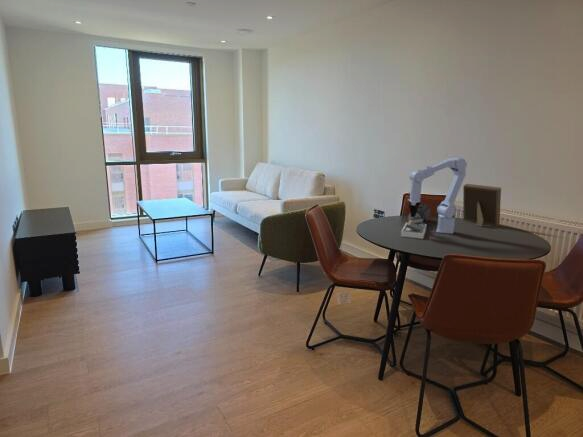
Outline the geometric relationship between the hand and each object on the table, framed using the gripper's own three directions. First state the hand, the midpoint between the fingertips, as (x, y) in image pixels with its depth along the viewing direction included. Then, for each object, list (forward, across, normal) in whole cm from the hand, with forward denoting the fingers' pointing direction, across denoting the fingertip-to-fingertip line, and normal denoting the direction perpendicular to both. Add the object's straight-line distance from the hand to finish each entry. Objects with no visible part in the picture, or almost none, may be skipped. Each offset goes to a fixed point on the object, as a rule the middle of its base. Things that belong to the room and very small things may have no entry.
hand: (413, 215), depth 231 cm
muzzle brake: (+11, -29, +1) cm, 31 cm away
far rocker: (+6, -6, +1) cm, 9 cm away
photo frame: (+11, -43, +37) cm, 58 cm away
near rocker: (+6, +6, +1) cm, 8 cm away
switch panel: (+10, 0, +1) cm, 10 cm away
